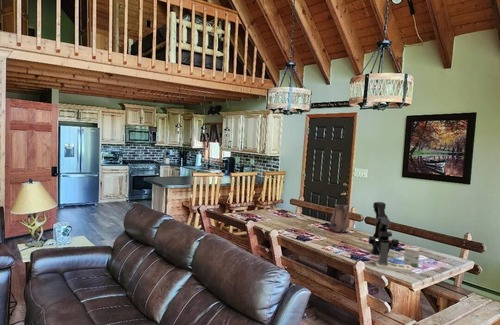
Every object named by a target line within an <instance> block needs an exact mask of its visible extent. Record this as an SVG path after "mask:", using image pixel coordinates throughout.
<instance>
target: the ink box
mask: <svg viewBox="0 0 500 325" xmlns="http://www.w3.org/2000/svg"><path fill="white" fill-rule="evenodd" d="M403 254H404V256H403V264H405V265H409V266H410V267H413V268H416V269H417V268H418V267H419V260H420V249H417V248H412V247H409V246H406V247H405V248H404V253H403Z"/></svg>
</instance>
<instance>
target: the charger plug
mask: <svg viewBox="0 0 500 325" xmlns="http://www.w3.org/2000/svg"><path fill="white" fill-rule="evenodd" d="M388 246H389V244H388V243H387V242H380V250H381V252H380V253H379V255H378V256H379V257H378V261H379V262H380V263H385V264H387V262H388V256H389V253H388Z"/></svg>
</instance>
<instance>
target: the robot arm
mask: <svg viewBox="0 0 500 325" xmlns="http://www.w3.org/2000/svg"><path fill="white" fill-rule="evenodd" d="M386 204H387V203H385V202H384V201H382V202H381V201H377V202H376V201H375V202H373V204H372V205H373V206H372V208H373V211H374V213H375V227H374V228H375V231H374V234H372V236H369V237H368V244H369V245H371V246H372V250H371V251H370V253H371V254H373V255H378V256H379V253H380V252H381V250H380V242H387V243H388V244H389V246H388V254H389V252H390V249H391V248H398V247H399V246H400V245H399V244H400V241H399V240H398V239H395V238H392V236H393V231H391V230H390V231H388V228H389V227H390V224H391V221H390V219H389V217H388V215H387V214H386V212H385V210H386ZM390 237H391V238H392V240H390Z"/></svg>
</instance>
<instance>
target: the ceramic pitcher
mask: <svg viewBox="0 0 500 325" xmlns="http://www.w3.org/2000/svg"><path fill="white" fill-rule="evenodd" d="M334 206H335V207H334V211H333V213H332V215H331V217H330V222H329V226H330V228H331V229H332V230H333V232H337V233H344V232H347V230H348V229H349V227H350V218H349V214H348V208H349V205H346V204H340V203H337V204H334Z"/></svg>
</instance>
